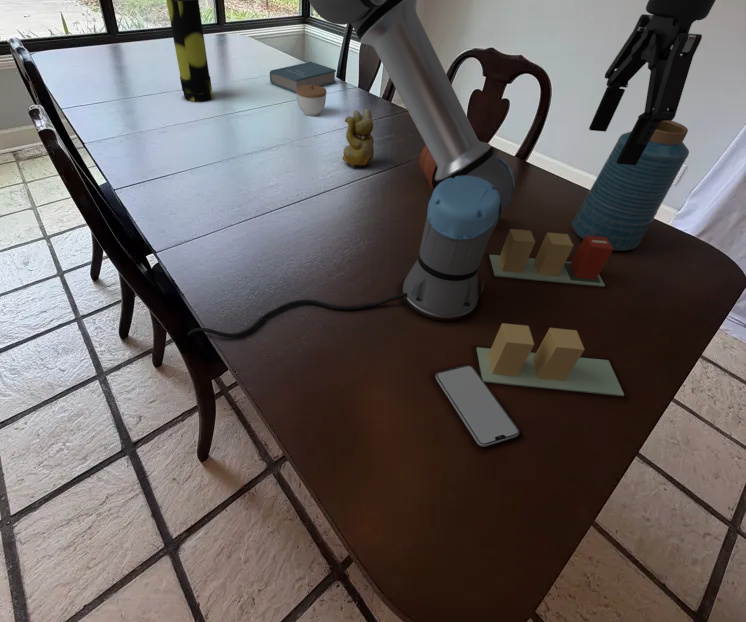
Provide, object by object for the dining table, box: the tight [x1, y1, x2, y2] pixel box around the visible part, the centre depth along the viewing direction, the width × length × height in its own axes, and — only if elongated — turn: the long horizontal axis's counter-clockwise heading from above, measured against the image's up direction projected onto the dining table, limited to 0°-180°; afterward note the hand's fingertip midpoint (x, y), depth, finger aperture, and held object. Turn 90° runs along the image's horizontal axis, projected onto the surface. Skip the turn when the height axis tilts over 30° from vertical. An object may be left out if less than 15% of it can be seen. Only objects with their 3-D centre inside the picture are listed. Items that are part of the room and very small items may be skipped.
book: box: [269, 61, 337, 95], centre depth 183 cm, size 23×16×5 cm
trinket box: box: [296, 84, 327, 117], centre depth 158 cm, size 11×11×9 cm
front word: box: [476, 322, 625, 397], centre depth 75 cm, size 24×8×8 cm, turn 85°
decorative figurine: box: [342, 108, 375, 169], centre depth 128 cm, size 10×8×15 cm
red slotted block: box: [570, 235, 614, 279], centre depth 96 cm, size 4×4×8 cm
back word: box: [489, 228, 606, 288], centre depth 96 cm, size 24×8×8 cm, turn 85°
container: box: [166, 0, 213, 103], centre depth 156 cm, size 11×11×30 cm
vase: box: [571, 120, 690, 252], centre depth 102 cm, size 16×16×27 cm
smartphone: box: [435, 364, 520, 448], centre depth 71 cm, size 7×1×15 cm
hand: (610, 146), depth 72 cm, fingers open, 13 cm apart
